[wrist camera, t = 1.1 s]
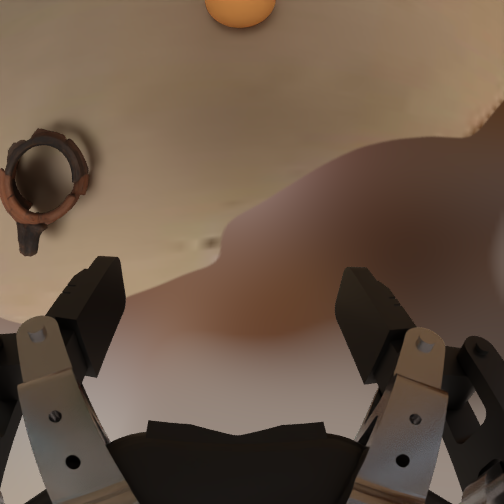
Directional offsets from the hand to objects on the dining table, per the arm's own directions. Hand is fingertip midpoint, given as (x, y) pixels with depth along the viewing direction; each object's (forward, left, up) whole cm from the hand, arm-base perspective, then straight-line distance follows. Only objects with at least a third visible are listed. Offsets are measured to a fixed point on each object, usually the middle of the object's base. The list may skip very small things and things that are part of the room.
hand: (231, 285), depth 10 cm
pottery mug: (-17, -4, -19) cm, 26 cm away
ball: (-2, +15, -16) cm, 22 cm away
